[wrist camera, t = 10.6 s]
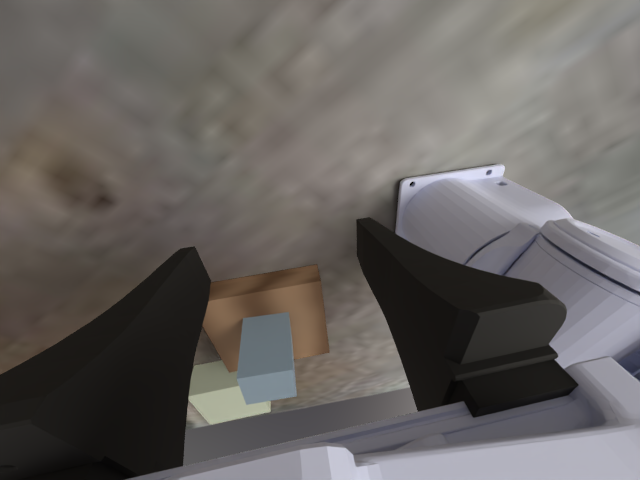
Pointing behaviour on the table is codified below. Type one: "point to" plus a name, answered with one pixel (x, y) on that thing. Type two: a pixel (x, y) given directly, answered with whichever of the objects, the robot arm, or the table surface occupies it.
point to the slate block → (266, 359)
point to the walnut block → (268, 310)
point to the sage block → (220, 394)
